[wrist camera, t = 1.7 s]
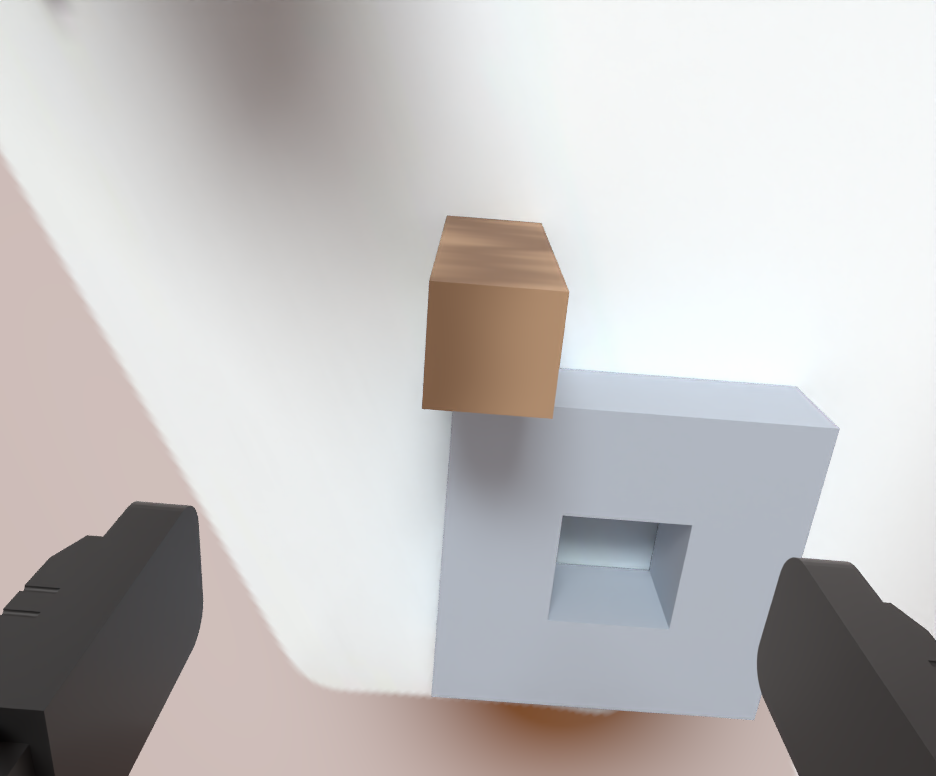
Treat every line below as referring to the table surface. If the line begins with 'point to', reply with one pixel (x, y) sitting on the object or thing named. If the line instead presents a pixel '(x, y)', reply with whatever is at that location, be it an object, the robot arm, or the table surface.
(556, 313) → the walnut peg
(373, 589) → the table surface
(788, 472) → the socket block
